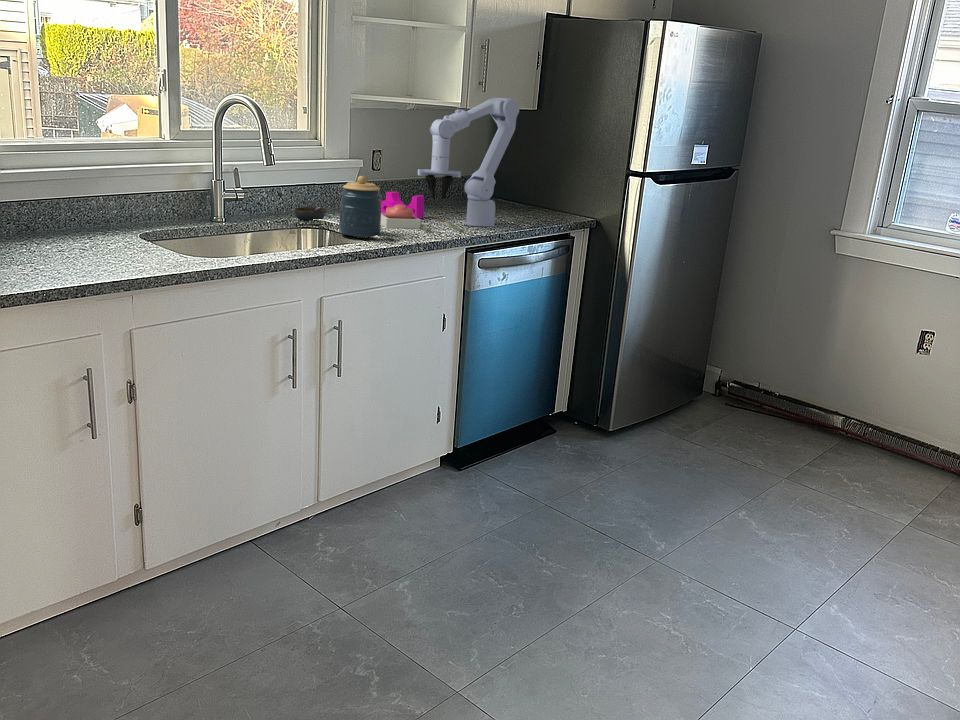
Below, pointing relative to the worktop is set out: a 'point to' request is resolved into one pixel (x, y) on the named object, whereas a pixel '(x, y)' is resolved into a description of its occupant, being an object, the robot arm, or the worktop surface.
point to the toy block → (394, 199)
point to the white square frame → (400, 222)
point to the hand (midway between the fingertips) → (437, 198)
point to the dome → (399, 212)
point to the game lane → (444, 223)
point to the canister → (360, 209)
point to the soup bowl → (309, 213)
